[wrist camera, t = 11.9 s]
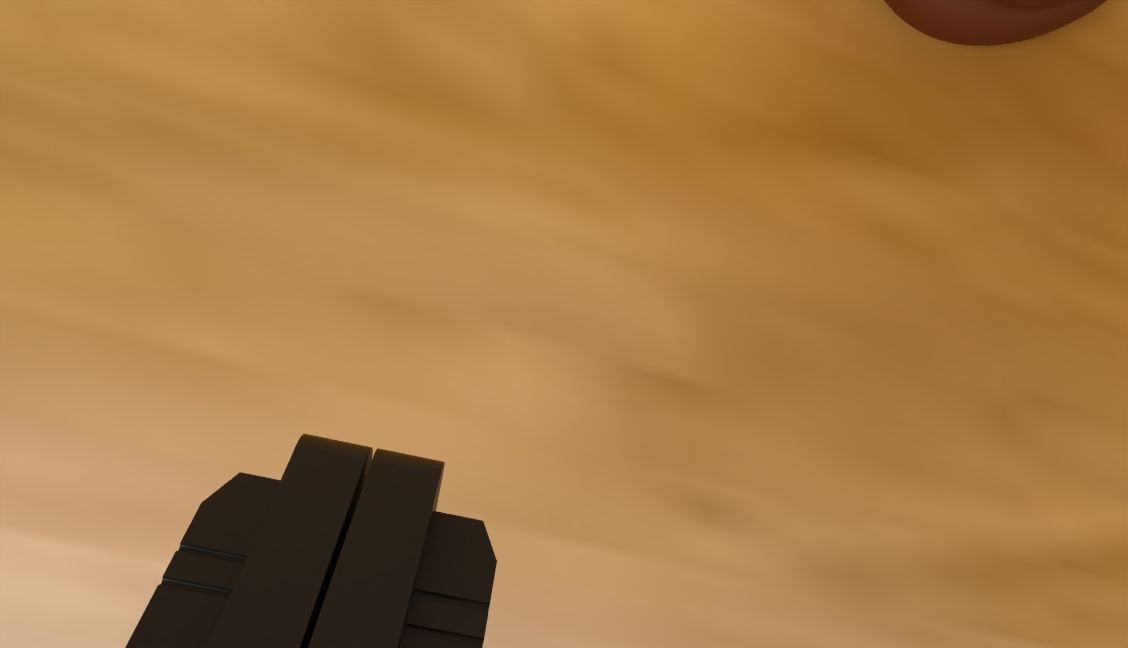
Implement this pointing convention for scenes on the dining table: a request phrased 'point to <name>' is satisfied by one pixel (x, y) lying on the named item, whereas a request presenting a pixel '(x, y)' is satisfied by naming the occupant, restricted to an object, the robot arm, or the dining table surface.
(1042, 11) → the poop emoji
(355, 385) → the dining table surface
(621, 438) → the dining table surface
